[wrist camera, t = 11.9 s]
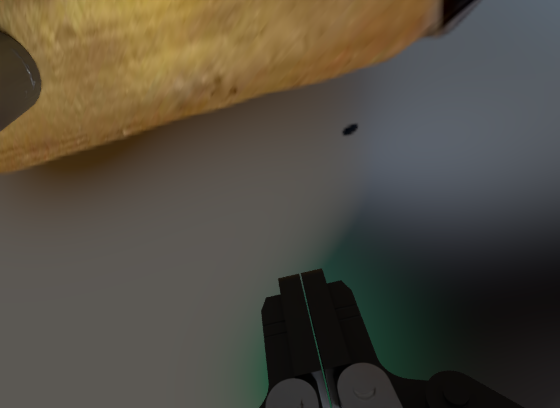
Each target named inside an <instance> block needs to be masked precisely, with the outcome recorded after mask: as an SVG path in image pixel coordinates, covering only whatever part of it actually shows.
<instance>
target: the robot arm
mask: <svg viewBox="0 0 560 408" xmlns="http://www.w3.org/2000/svg"><path fill="white" fill-rule="evenodd" d="M40 91H41V78H40V73H39V71H38V68H37V66H36V63H35V62H34V60H33V59H32V57H31V56H30V54H29V53H28V52H27V51H26V50H25V49H24V48H23V47H22V46H21V45H20V44H19V43H18V42H16V41H15V40H14V39H12V38H11V37H9V36H7V35H6V34H4V33H2V32H0V131H2V130H3V129H4V128H5V127H7V126H8V125H9V124H10V123H12V122H13V121H14V120H16V119H17V118H18V117H19V116H21V115H22V114H23V113H24V112H26V111H27V110H28V109H29V108H30V107H32V106H33V105H34V104H35V102H36V101H37V99H38V98H39V95H40ZM301 276H302V281H303V285H304V290H305V293H306V299H307V303H308V307H309V312H310V316H311V320H312V324H313V329H314V333H315V337H316V341H317V345H318V350H319V354H320V358H321V362H322V366H323V371H324V375H325V379H326V383H327V387H328V391H329V396H330V400H331V404H332V408H524V407H522V406H520V405H519V404H517V403H515V402H513V401H512V400H510V399H508V398H506V397H505V396H503V395H501V394H499V393H498V392H496V391H494V390H492V389H490V388H489V387H487V386H485V385H483V384H481V383H480V382H478V381H476V380H475V379H473V378H471V377H469V376H467V375H465V374H463V373H460V372H457V371H442V372H438V373H436V374H435V375H433V376H432V377H431V378H430V379H429V381H425V380H414V379H406V378H402V377H398V376H396V375H394V374H392V373H390V372H389V371H387V370H386V369H385V368H384V367H383V366H382V365H381V363H380V362H379V360H378V358H377V356H376V353H375V351H374V348H373V345H372V343H371V340H370V337H369V335H368V332H367V330H366V327H365V324H364V322H363V319H362V317H361V314H360V311H359V309H358V306H357V303H356V301H355V298H354V295H353V293H352V291H351V289H350V288H348V287H347V286H346V285H345V284H344V283H343V282H342V281H336V282H332V283H328V284H327V283H326V280H325V277H324V273H323V270H322V269H317V270H312V271H308V272H304V273H301ZM278 281H279V287H280V293H281V294H280V295H275V296H271V297H267V298H266V299H265V302H264V305H263V308H262V311H261V314H262V323H263V333H264V342H265V352H266V361H267V370H268V380H269V388H268V393H267V396H266V398H265V400H264V402H263V403H262V405H261V406H260V407H259V408H330V405H329V400H328V396H327V391H326V387H325V382H324V378H323V373H322V369H321V365H320V361H319V356H318V352H317V348H316V344H315V340H314V335H313V331H312V327H311V322H310V318H309V314H308V310H307V305H306V302H305V297H304V293H303V289H302V284H301V280H300V276H299V274H295V275H291V276H287V277H283V278H279V279H278Z"/></svg>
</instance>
